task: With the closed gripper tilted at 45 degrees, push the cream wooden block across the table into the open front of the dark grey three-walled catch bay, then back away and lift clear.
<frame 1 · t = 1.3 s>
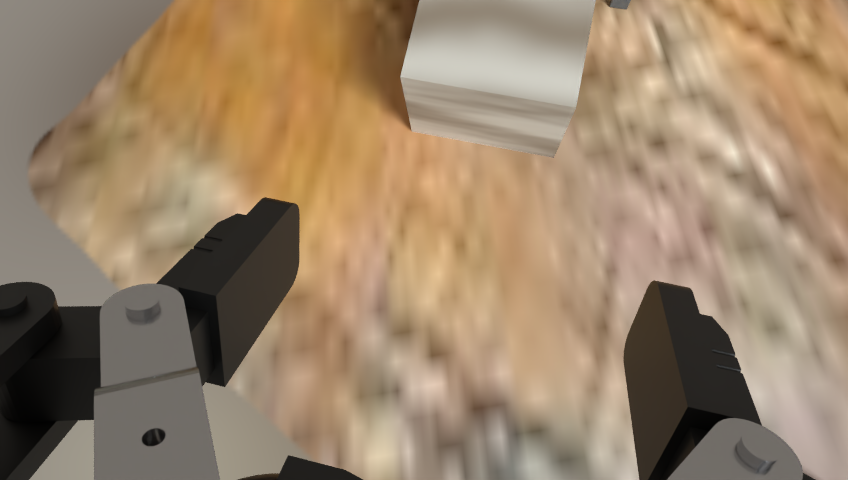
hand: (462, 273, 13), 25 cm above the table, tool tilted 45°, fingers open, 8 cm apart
cream block: (495, 80, 41), on the table
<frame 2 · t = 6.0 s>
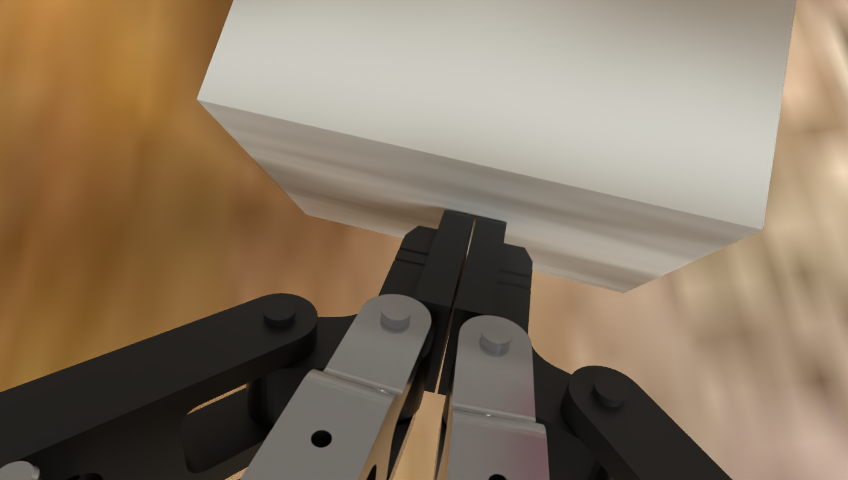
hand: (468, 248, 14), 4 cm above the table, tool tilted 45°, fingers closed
cream block: (497, 106, 19), on the table, touching gripper
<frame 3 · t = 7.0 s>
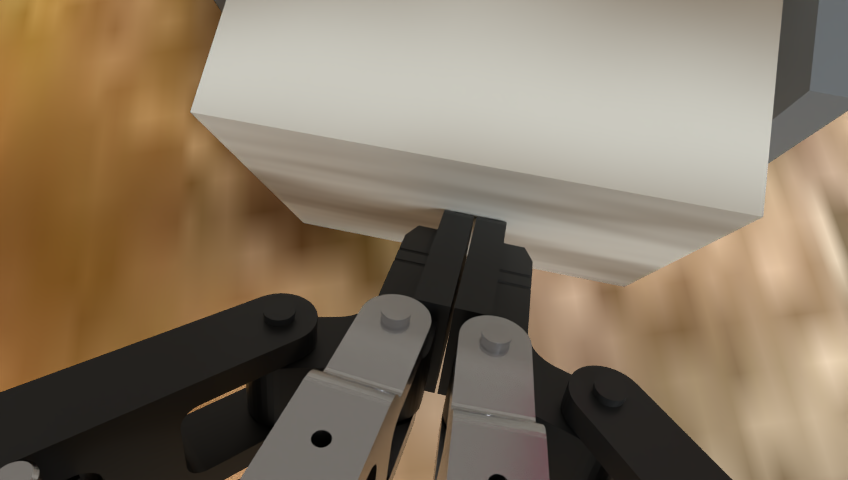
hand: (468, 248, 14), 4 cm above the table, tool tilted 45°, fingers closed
cream block: (489, 106, 19), on the table
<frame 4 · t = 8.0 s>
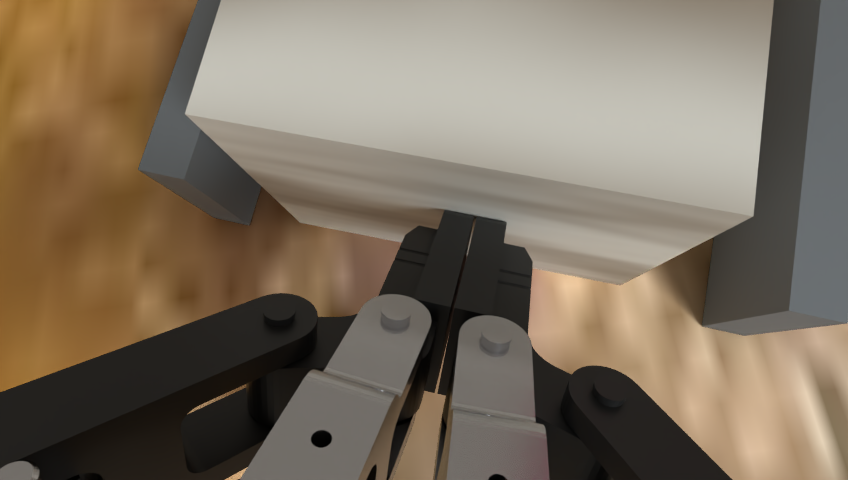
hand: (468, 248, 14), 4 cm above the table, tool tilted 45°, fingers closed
catch bay: (512, 68, 19), on the table
cream block: (485, 106, 19), on the table, touching gripper
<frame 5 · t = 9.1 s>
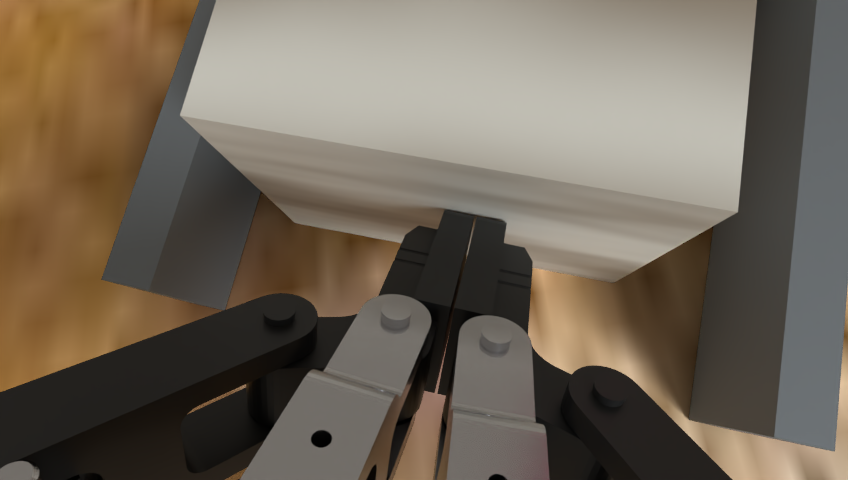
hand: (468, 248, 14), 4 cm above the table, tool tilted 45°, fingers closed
catch bay: (494, 145, 18), on the table
cream block: (478, 107, 19), on the table
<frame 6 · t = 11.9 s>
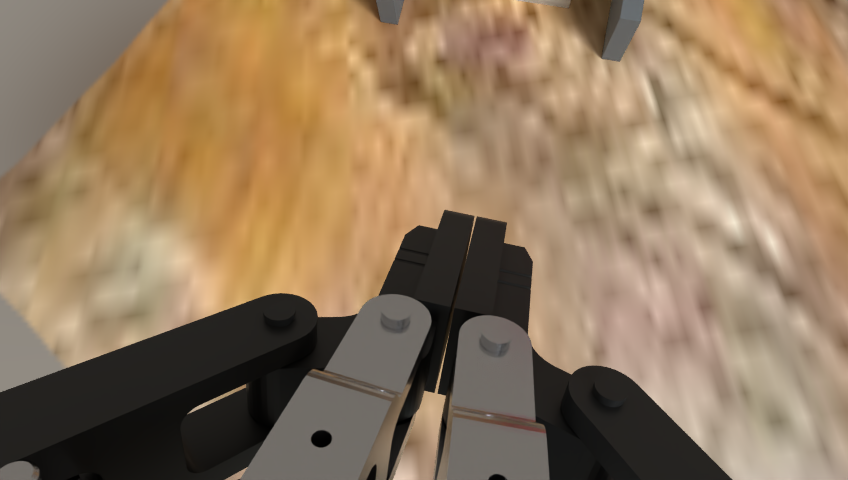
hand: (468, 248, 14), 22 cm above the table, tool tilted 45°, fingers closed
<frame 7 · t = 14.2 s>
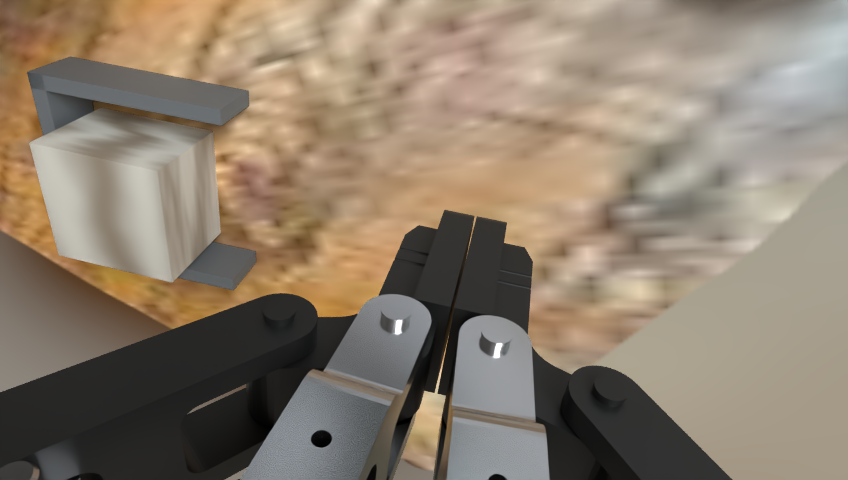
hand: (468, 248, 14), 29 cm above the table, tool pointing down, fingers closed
catch bay: (176, 168, 50), on the table
cream block: (164, 172, 51), on the table
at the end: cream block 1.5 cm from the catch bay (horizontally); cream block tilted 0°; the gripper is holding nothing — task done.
